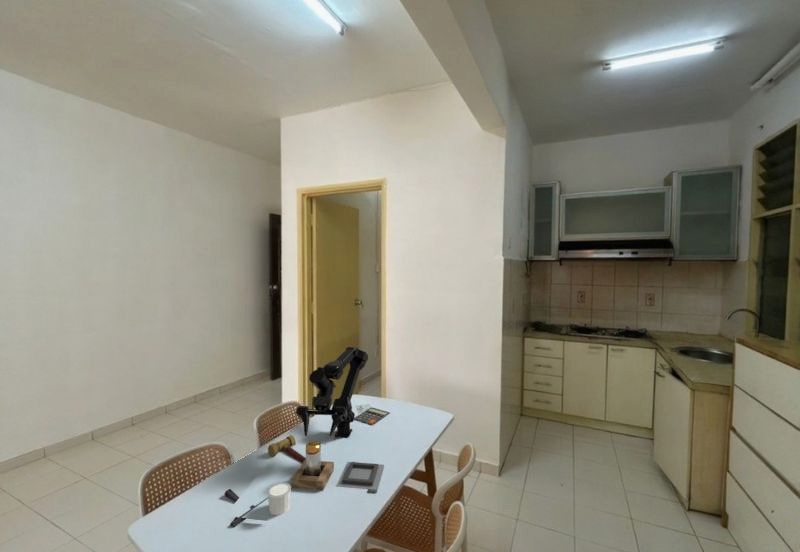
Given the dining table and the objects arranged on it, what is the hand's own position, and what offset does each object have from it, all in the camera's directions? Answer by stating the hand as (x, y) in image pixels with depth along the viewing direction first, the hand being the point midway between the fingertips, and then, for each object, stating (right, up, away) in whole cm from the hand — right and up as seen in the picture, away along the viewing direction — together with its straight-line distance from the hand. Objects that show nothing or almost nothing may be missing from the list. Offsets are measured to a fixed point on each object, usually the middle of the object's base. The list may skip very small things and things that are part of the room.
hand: (317, 436), depth 126 cm
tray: (+16, -13, -4) cm, 21 cm away
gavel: (-11, -13, +9) cm, 19 cm away
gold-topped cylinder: (0, -12, -6) cm, 13 cm away
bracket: (-21, -15, -16) cm, 30 cm away
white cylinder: (-7, -14, -20) cm, 25 cm away
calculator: (+16, -11, +44) cm, 48 cm away
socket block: (0, -13, -6) cm, 14 cm away
